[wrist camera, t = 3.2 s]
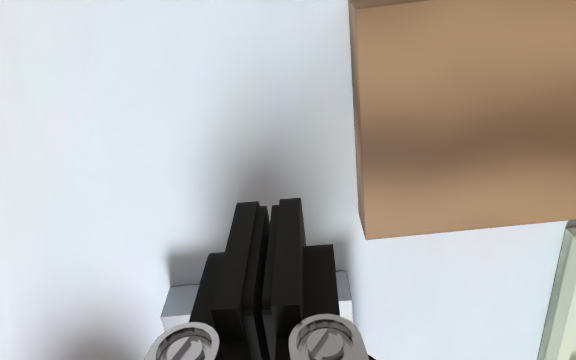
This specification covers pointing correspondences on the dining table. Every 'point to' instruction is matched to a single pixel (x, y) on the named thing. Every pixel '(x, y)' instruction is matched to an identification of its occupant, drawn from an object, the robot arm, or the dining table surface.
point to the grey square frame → (184, 296)
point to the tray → (562, 306)
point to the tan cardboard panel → (463, 113)
